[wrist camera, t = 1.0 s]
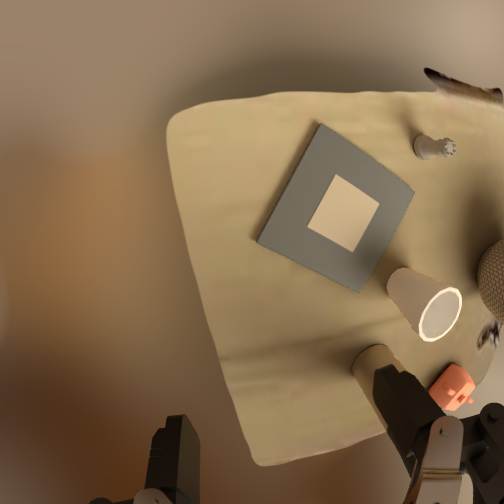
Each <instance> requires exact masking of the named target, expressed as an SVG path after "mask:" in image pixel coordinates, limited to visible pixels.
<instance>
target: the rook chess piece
mask: <svg viewBox="0 0 504 504" xmlns="http://www.w3.org/2000/svg"><path fill="white" fill-rule="evenodd" d="M455 148H457V147H456V145H454V141H451V140H450V139H449V138H444V139H443V140H442V139H439V140H433V139H432V138H430V137H429V136H425V135H420V136H418V137H417V138H416V139H415V142H414V150H415V153H416V155H417V156H418V157H419V158H420V159H421V160H429V159H431V158H433V157H434V156H436V155H440V156H445V157H446V158H451V157H452V156H454V153H456V150H455Z"/></svg>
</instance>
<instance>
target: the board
mask: <svg viewBox="0 0 504 504" xmlns="http://www.w3.org/2000/svg"><path fill="white" fill-rule="evenodd" d="M414 194H415V192H414V191H413V190H412V189H411V188H410V187H408V186H407V185H406V184H405V183H404V182H402V181H401V180H400V179H399V178H397V177H396V176H395V175H394V174H392V173H391V172H390V171H389V170H387V169H386V168H385V167H383V166H382V165H381V164H379V163H378V162H377V161H375V160H374V159H373V158H371V157H370V156H369V155H367V154H366V153H365V152H363V151H362V150H360V149H359V148H358V147H356V146H355V145H353V144H352V143H350V142H349V141H347V140H346V139H344V138H343V137H341V136H340V135H338V134H337V133H335V132H334V131H332V130H331V129H329V128H328V127H326V126H325V125H323V124H319V126H318V127H317V129H316V131H315V133H314V135H313V137H312V139H311V140H310V142H309V144H308V146H307V148H306V150H305V151H304V153H303V155H302V157H301V159H300V161H299V163H298V164H297V166H296V168H295V170H294V172H293V174H292V175H291V177H290V179H289V181H288V183H287V185H286V187H285V188H284V190H283V192H282V194H281V196H280V198H279V199H278V201H277V203H276V205H275V207H274V209H273V211H272V212H271V214H270V216H269V218H268V220H267V222H266V224H265V225H264V227H263V229H262V231H261V233H260V235H259V236H258V238H257V240H256V242H257V243H258V244H260V245H262V246H264V247H266V248H268V249H270V250H272V251H274V252H276V253H278V254H280V255H283V256H285V257H287V258H289V259H291V260H293V261H295V262H297V263H299V264H301V265H303V266H305V267H307V268H309V269H311V270H313V271H315V272H317V273H319V274H321V275H323V276H325V277H327V278H329V279H331V280H333V281H335V282H337V283H339V284H341V285H343V286H345V287H347V288H349V289H351V290H353V291H355V292H357V293H360V291H361V290H362V288H363V287H364V285H365V283H366V282H367V280H368V278H369V277H370V275H371V273H372V272H373V270H374V268H375V267H376V265H377V263H378V262H379V260H380V258H381V256H382V255H383V253H384V251H385V249H386V248H387V246H388V244H389V242H390V240H391V239H392V237H393V235H394V233H395V231H396V229H397V227H398V226H399V224H400V222H401V220H402V218H403V216H404V214H405V212H406V210H407V208H408V206H409V204H410V202H411V200H412V198H413V196H414Z"/></svg>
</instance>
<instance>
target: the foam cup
mask: <svg viewBox="0 0 504 504" xmlns="http://www.w3.org/2000/svg"><path fill="white" fill-rule="evenodd" d="M386 288H387V293H388V295H389V296H390V298H391V299H392V300H393V301H394V303H395V304H396V305H397V307H398V308H399V309H400V311H401V312H402V313H403V315H404V316H405V317H406V319H407V320H408V321H409V323H410V324H411V326H412V329H413V330H414V331H415V332H416V333H417V334H418V335H419V336H420V337H421V338H422V339H423V340H424V341H435V340H437V339H439V338H441V337H443V336H444V335H445V334H446V333H447V332H448V331H449V330H450V329H451V328H452V326H453V325H454V323H455V322H456V320H457V318H458V316H459V313H460V310H461V307H462V296H461V294H460V292H459V291H458V289H457V288H455V287H454V286H452V285H451V284H449V283H446V282H442V281H439V280H436V279H434V278H431V277H429V276H426V275H424V274H421V273H419V272H416V271H414V270H411V269H408V268H404V267H403V268H400V269H397V270H396V271H395V272H394V273H392V275H391V276H390V278H389V280H388V283H387V287H386Z"/></svg>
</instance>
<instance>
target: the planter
mask: <svg viewBox="0 0 504 504" xmlns="http://www.w3.org/2000/svg"><path fill="white" fill-rule="evenodd" d="M477 281H478V284H479V291H480V295H481V298H482V301H483V303H484V304H485V306H486V307H487V308H488V310H489V311H490V312H491V313H492V314H493V315H494V316H495V317H496V318H497V319H498V320H499V321H501V322H502V323H503V324H504V239H502V240H500V241H498V242H497V243H496V244H495V245H494V246H491V247H489V248H488V249H487V250H486V251H485V252H484V254H483V256H482V257H481V260H480V262H479V265H478V270H477Z"/></svg>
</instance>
